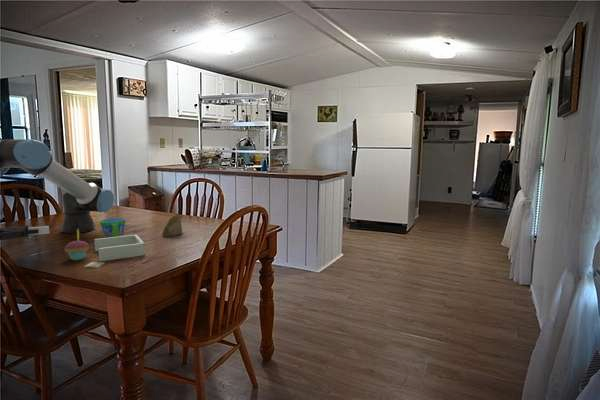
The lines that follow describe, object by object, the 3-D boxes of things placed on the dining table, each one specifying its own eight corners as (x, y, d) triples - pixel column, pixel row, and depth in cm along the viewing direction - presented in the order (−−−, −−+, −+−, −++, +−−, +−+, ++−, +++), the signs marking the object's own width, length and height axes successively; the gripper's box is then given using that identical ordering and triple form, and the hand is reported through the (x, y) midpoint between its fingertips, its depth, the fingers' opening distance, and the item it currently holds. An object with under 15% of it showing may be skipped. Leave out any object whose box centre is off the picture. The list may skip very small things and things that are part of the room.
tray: (99, 261, 154) (98, 248, 153) (95, 250, 168) (94, 239, 167) (145, 255, 163) (144, 243, 162) (137, 245, 177) (136, 234, 176)
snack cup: (101, 238, 188) (100, 217, 186) (125, 236, 192) (124, 216, 191) (101, 246, 174) (99, 224, 172) (127, 244, 178) (126, 222, 177)
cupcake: (72, 255, 161) (69, 226, 159) (93, 255, 162) (91, 226, 160) (61, 261, 153) (58, 231, 151) (84, 261, 153) (81, 231, 152)
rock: (161, 233, 189) (182, 229, 192) (158, 217, 193) (179, 214, 196) (163, 242, 198) (184, 238, 202) (161, 227, 202) (181, 223, 205)
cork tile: (84, 269, 146) (84, 266, 146) (92, 265, 151) (92, 262, 151) (97, 269, 146) (97, 266, 146) (104, 265, 151) (104, 262, 151)
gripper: (-27, 243, 144) (49, 235, 156) (-33, 251, 133) (49, 243, 145) (-29, 222, 143) (48, 217, 155) (-36, 229, 132) (48, 223, 144)
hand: (49, 229), depth 150 cm, fingers closed
